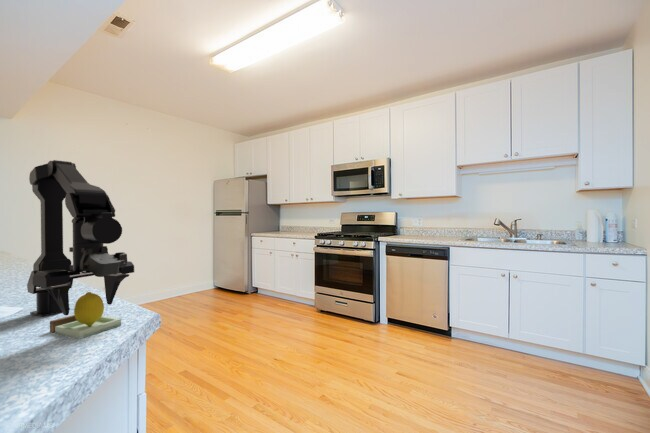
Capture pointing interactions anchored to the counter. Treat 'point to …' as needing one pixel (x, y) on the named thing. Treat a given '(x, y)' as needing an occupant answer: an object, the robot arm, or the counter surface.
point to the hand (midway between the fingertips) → (89, 309)
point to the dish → (87, 327)
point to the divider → (61, 322)
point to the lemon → (89, 309)
